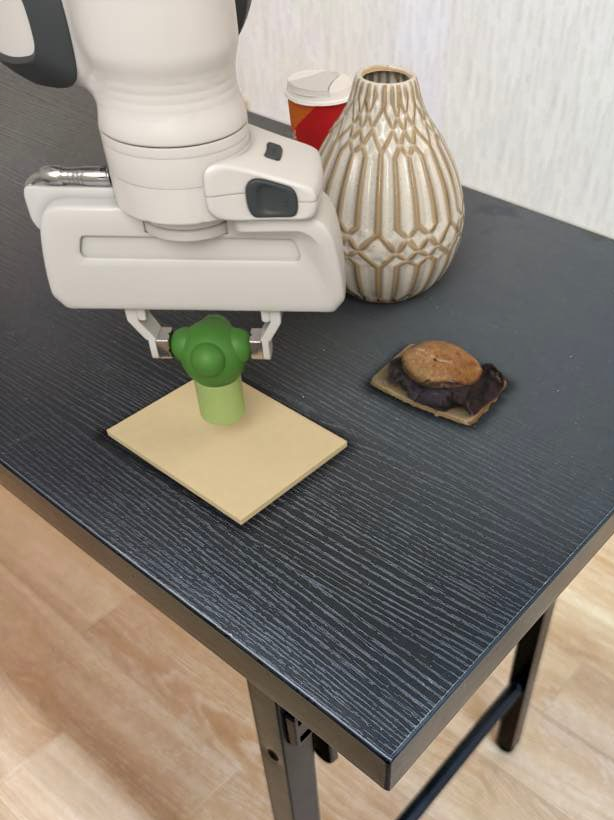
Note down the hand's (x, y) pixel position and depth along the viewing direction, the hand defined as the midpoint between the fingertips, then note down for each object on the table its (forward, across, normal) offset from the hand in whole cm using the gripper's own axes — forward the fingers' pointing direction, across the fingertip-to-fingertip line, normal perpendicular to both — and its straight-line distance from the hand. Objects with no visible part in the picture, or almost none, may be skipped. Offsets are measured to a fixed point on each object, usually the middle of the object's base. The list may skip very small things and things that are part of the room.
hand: (214, 354), depth 61 cm
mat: (+8, 0, 0) cm, 9 cm away
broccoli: (+5, 0, 0) cm, 5 cm away
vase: (+9, +13, +26) cm, 30 cm away
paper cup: (+9, +6, +43) cm, 44 cm away
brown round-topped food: (+9, +18, +8) cm, 21 cm away
